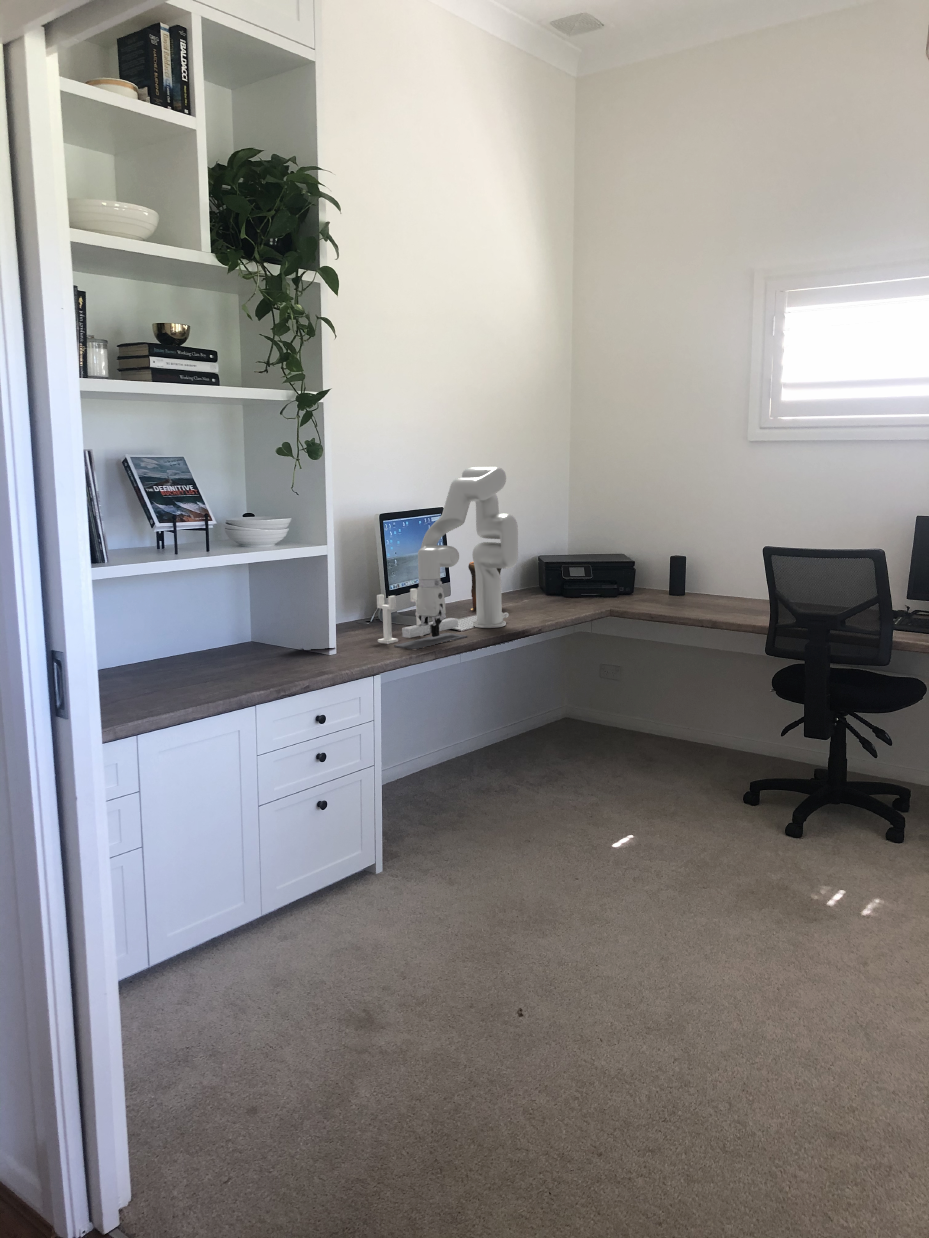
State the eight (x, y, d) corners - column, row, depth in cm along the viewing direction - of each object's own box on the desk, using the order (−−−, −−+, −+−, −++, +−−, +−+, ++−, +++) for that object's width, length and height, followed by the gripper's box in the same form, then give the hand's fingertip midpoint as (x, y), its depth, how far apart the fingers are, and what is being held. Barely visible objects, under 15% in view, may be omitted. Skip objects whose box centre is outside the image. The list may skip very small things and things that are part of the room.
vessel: (507, 606, 404) (505, 560, 401) (500, 613, 391) (498, 564, 387) (474, 606, 408) (472, 560, 404) (466, 612, 394) (464, 564, 391)
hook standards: (418, 632, 351) (417, 588, 348) (432, 634, 347) (431, 589, 344) (375, 642, 335) (373, 595, 332) (389, 644, 330) (388, 597, 327)
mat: (446, 634, 346) (446, 632, 346) (467, 637, 339) (467, 635, 339) (394, 646, 325) (394, 645, 325) (415, 650, 319) (415, 648, 319)
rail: (450, 626, 342) (450, 617, 342) (458, 627, 340) (457, 618, 339) (402, 636, 323) (401, 628, 323) (409, 637, 321) (409, 629, 321)
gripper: (454, 584, 326) (456, 636, 329) (419, 580, 337) (421, 631, 340) (440, 586, 321) (441, 639, 324) (404, 583, 331) (406, 635, 334)
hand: (431, 635), depth 332 cm, fingers closed on rail, 3 cm apart
